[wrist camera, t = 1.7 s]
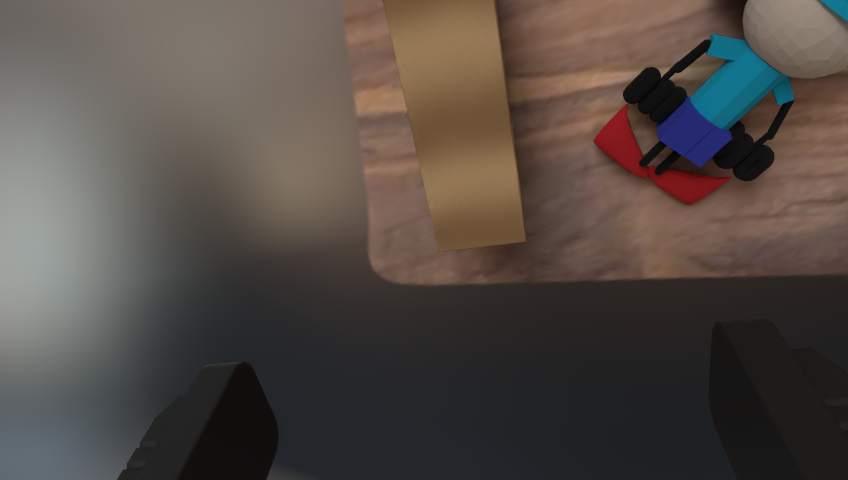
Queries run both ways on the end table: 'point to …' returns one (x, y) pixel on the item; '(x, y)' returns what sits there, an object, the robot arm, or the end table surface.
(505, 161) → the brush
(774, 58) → the toy figure
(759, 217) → the end table surface
